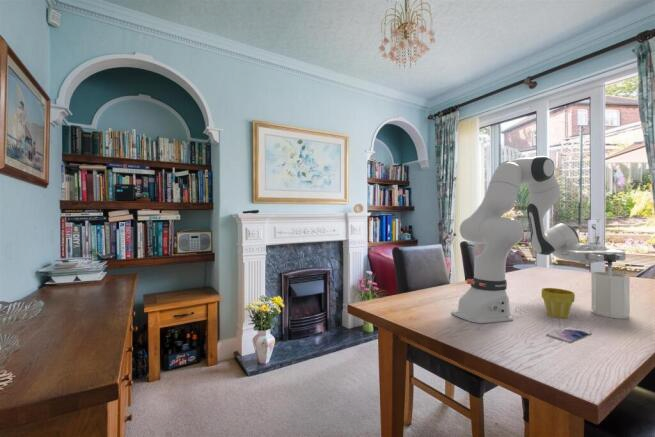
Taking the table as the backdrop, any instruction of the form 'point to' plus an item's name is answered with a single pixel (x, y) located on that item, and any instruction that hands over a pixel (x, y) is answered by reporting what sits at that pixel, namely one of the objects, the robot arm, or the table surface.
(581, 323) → the table surface
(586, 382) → the table surface
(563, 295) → the plant pot
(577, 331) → the smartphone
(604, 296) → the press carafe
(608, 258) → the plunger
